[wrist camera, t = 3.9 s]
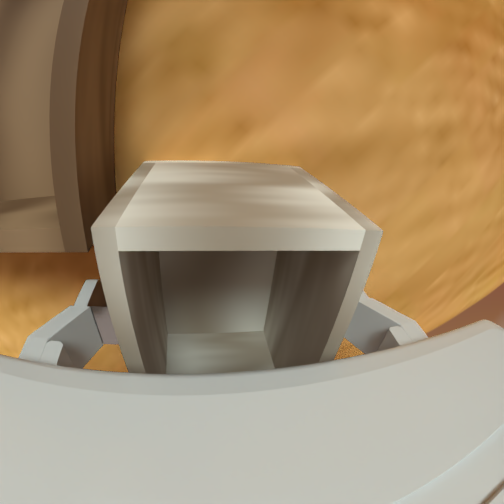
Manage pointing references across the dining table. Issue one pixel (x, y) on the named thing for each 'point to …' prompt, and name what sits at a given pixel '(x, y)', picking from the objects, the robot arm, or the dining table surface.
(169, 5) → the dining table surface
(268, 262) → the small crate
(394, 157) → the dining table surface
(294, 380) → the robot arm
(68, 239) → the big crate
